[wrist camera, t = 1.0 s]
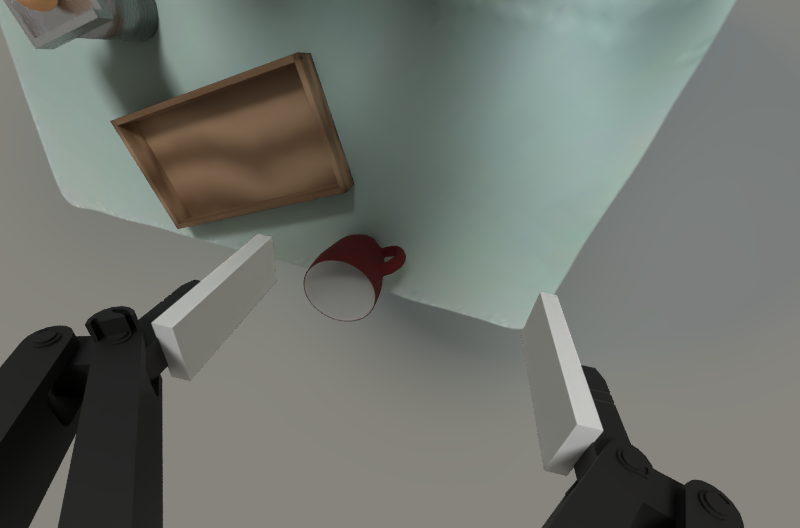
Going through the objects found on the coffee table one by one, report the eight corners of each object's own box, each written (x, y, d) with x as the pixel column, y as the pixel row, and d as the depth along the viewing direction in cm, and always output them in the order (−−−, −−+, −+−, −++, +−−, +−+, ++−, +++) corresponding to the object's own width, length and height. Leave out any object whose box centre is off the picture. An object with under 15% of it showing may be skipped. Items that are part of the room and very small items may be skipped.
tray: (132, 117, 41) (110, 121, 38) (310, 53, 34) (297, 52, 31) (193, 220, 47) (177, 229, 44) (354, 183, 40) (346, 192, 37)
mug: (393, 202, 40) (372, 239, 32) (422, 257, 43) (410, 304, 35) (323, 233, 44) (288, 273, 36) (354, 281, 47) (329, 329, 39)
